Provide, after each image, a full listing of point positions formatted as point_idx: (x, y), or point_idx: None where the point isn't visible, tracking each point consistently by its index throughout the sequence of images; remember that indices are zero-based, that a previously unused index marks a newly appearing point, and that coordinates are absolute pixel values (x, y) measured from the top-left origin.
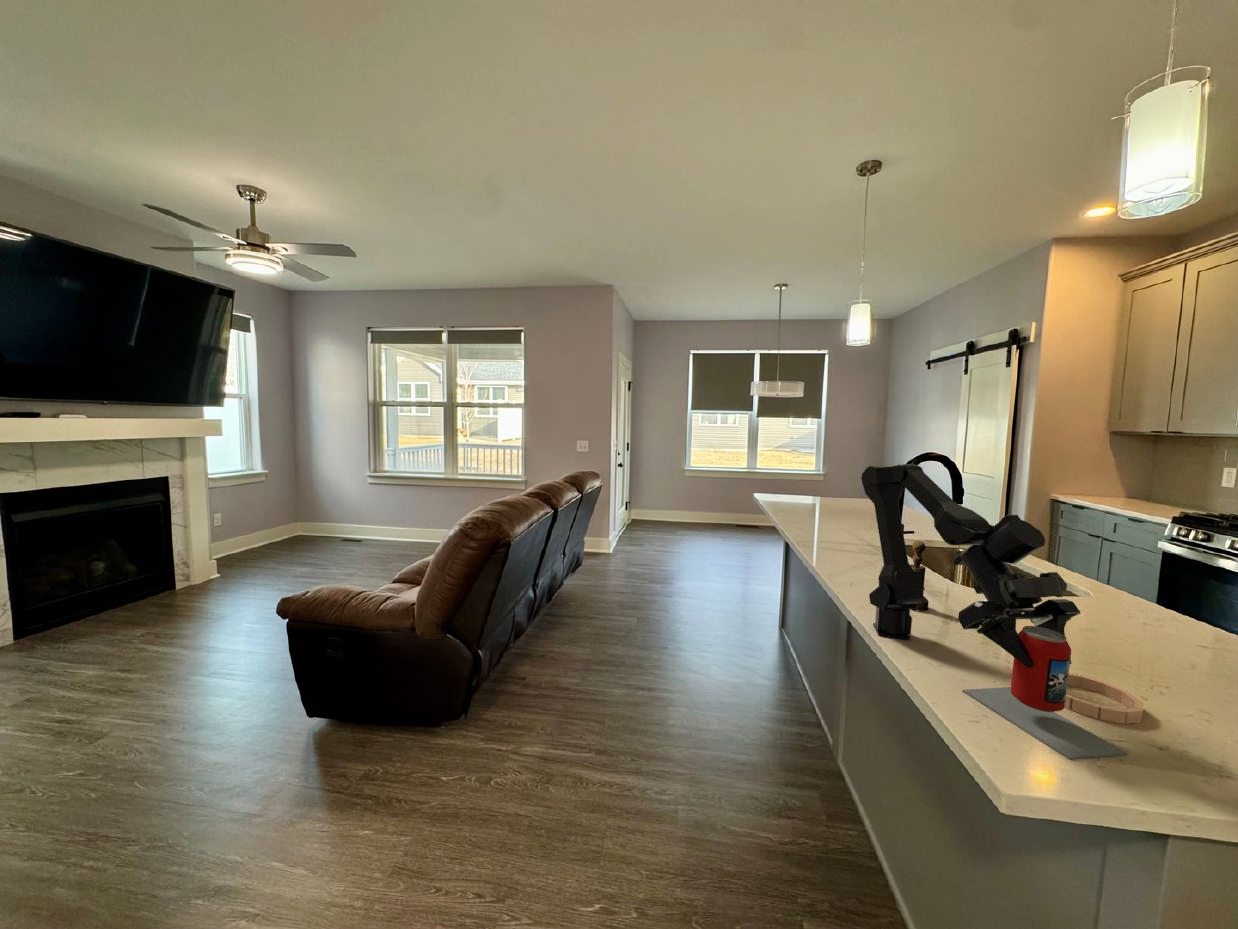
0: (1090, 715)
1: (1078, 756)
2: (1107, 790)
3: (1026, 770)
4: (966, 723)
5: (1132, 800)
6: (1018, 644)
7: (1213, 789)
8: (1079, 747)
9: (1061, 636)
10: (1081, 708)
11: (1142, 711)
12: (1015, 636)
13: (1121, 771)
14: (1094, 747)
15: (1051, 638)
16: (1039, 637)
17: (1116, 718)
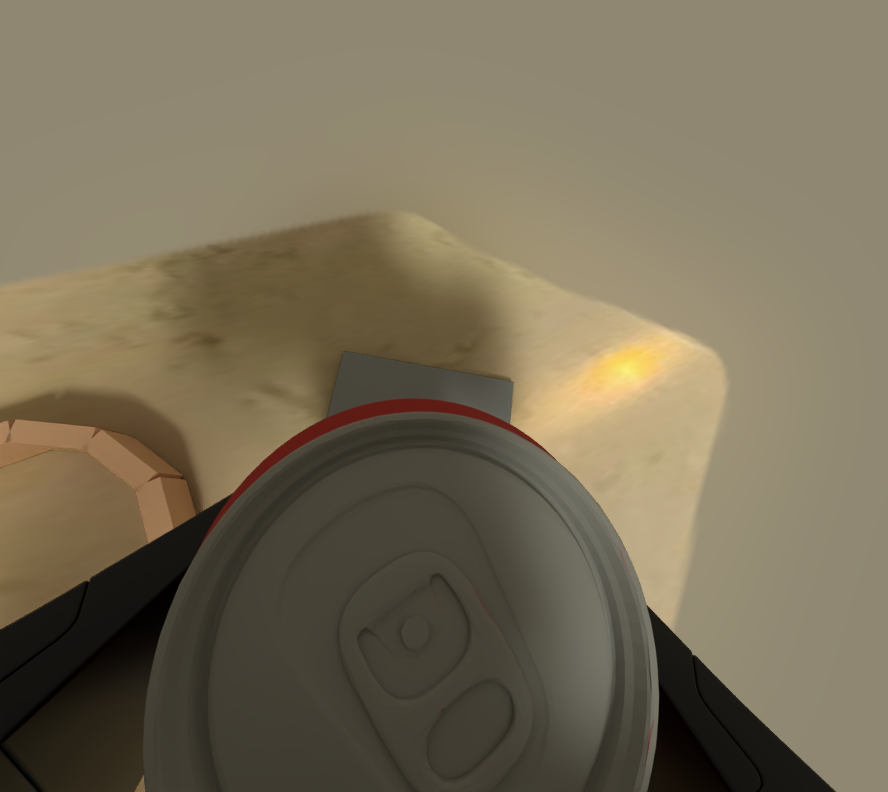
0: (189, 496)
1: (486, 378)
2: (538, 306)
3: (644, 390)
4: (635, 571)
5: (521, 278)
6: (683, 646)
7: (312, 240)
8: (443, 398)
9: (250, 530)
10: (187, 519)
11: (13, 422)
12: (743, 736)
13: (437, 326)
14: (401, 387)
15: (486, 504)
16: (621, 556)
17: (140, 448)
